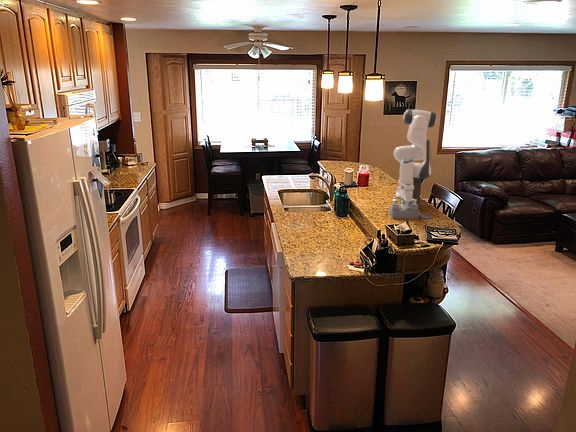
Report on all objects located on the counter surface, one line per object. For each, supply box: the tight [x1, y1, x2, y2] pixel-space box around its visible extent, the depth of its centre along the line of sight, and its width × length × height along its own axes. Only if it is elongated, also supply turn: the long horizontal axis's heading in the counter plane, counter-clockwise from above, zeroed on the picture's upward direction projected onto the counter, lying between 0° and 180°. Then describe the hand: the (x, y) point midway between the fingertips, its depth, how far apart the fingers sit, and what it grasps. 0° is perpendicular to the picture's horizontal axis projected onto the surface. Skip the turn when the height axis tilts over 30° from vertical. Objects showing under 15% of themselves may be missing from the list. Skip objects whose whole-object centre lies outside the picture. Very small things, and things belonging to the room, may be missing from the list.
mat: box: [418, 214, 434, 220], centre depth 298 cm, size 8×8×1 cm
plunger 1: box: [392, 198, 399, 206], centre depth 299 cm, size 4×4×6 cm
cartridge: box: [400, 199, 408, 210], centre depth 299 cm, size 5×5×10 cm
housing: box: [388, 203, 420, 220], centre depth 300 cm, size 10×17×8 cm, turn 88°
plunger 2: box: [411, 199, 417, 206], centre depth 298 cm, size 4×4×6 cm
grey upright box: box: [408, 177, 422, 210], centre depth 319 cm, size 19×8×25 cm, turn 170°
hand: (404, 205), depth 298 cm, fingers open, 8 cm apart
